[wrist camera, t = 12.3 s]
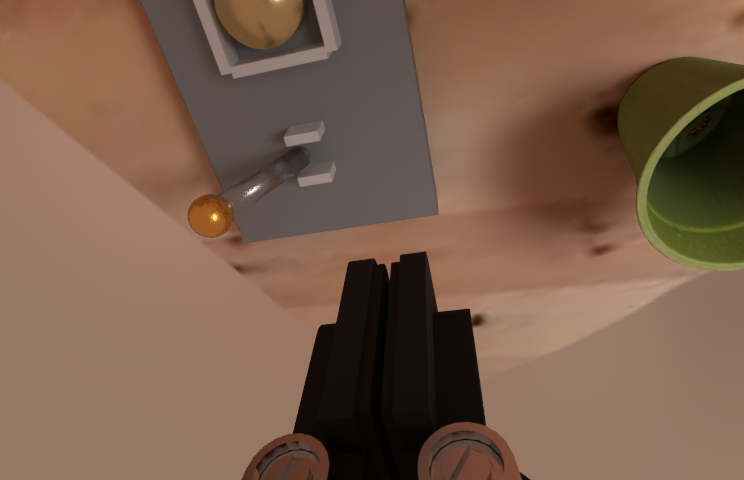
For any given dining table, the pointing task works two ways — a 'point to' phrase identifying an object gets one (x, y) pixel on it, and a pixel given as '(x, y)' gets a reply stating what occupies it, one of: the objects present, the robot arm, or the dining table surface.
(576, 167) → the dining table surface
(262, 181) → the lever
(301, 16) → the brass button
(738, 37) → the dining table surface
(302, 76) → the switch panel
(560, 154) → the dining table surface
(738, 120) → the plant pot
